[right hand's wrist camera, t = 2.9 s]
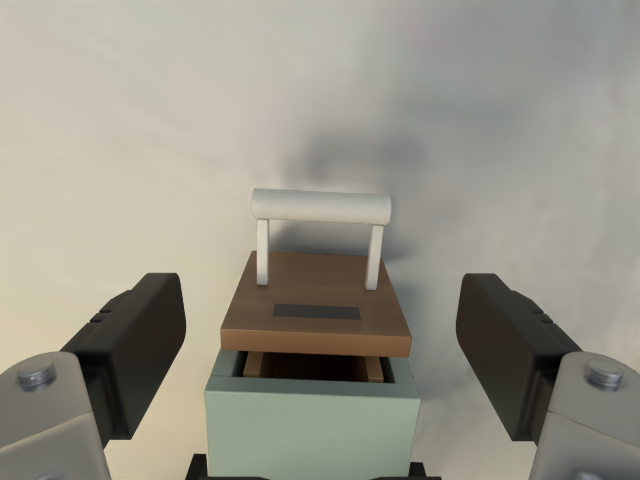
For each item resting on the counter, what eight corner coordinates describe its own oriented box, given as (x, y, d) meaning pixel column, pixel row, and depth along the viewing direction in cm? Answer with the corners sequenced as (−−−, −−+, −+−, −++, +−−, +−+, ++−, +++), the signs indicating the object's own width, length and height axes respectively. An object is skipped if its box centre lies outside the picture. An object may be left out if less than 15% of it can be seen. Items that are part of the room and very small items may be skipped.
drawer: (251, 170, 25) (215, 214, 16) (390, 178, 25) (431, 225, 16) (253, 388, 31) (227, 505, 22) (364, 392, 31) (383, 510, 22)
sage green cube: (246, 278, 28) (203, 391, 18) (383, 284, 29) (421, 399, 18) (248, 417, 33) (215, 571, 23) (365, 421, 33) (388, 575, 23)
